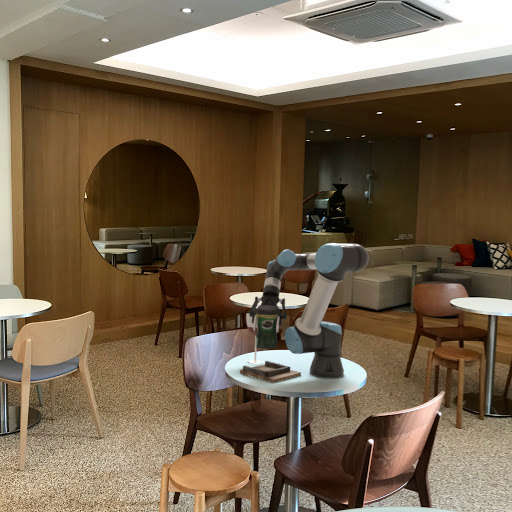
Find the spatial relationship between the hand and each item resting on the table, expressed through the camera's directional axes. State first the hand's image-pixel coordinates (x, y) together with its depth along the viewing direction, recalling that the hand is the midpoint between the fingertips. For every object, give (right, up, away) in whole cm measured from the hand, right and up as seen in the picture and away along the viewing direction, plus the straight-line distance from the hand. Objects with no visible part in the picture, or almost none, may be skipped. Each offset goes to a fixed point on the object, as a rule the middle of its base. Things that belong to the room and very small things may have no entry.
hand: (265, 329), depth 246 cm
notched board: (+2, -20, +3) cm, 20 cm away
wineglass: (-5, -19, +25) cm, 32 cm away
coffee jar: (0, -8, +4) cm, 9 cm away
